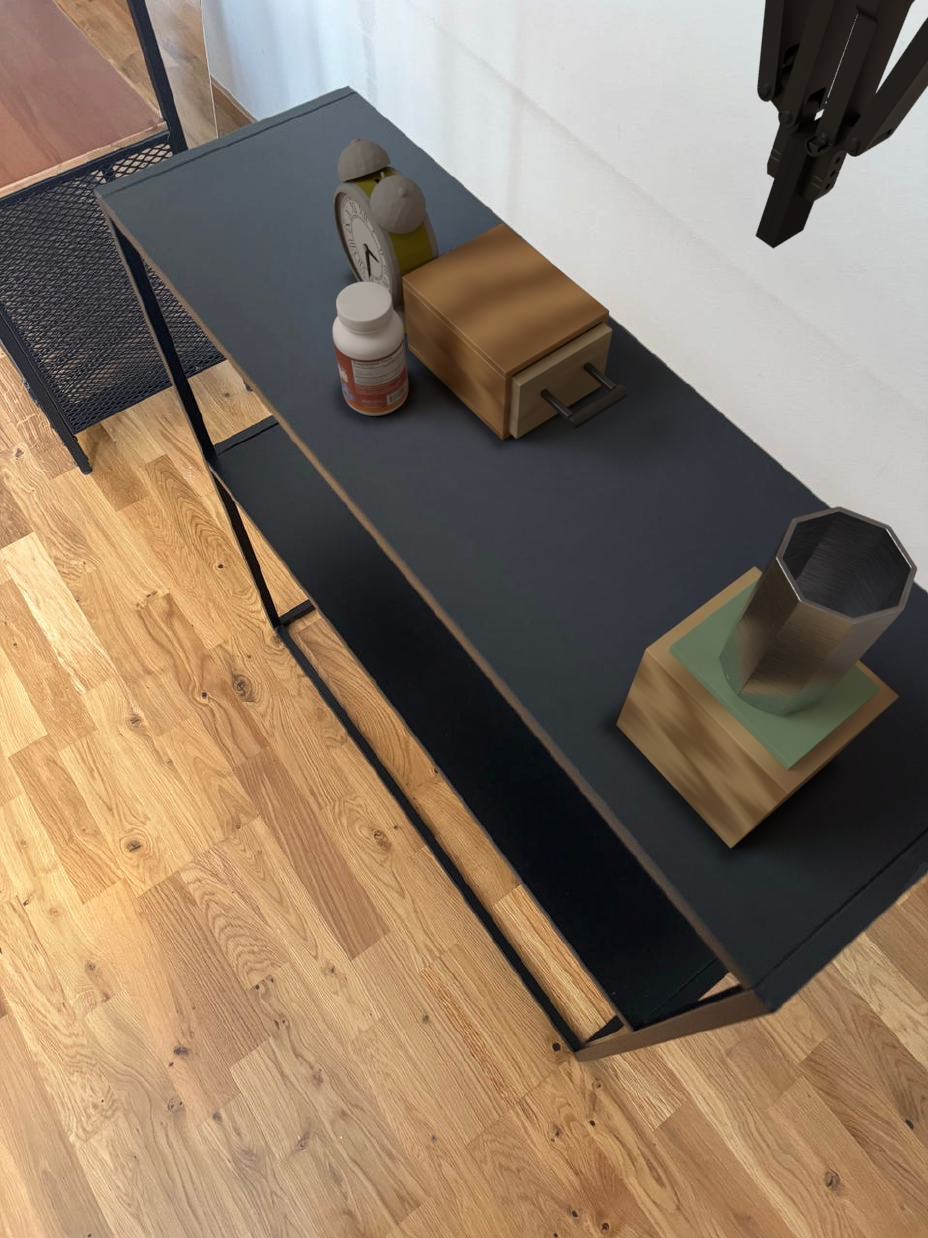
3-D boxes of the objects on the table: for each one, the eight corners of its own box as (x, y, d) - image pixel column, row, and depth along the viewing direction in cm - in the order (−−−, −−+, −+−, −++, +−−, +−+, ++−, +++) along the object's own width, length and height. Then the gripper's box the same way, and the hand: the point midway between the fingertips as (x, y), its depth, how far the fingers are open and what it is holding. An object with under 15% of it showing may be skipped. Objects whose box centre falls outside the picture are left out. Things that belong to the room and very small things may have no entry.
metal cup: (839, 646, 55) (927, 540, 44) (808, 732, 52) (893, 640, 42) (741, 604, 56) (804, 491, 46) (706, 686, 54) (763, 586, 43)
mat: (876, 693, 54) (881, 688, 54) (787, 771, 52) (791, 766, 51) (755, 583, 58) (759, 577, 57) (668, 651, 56) (670, 645, 55)
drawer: (638, 416, 81) (651, 361, 75) (551, 472, 78) (558, 420, 72) (510, 304, 87) (513, 246, 82) (426, 352, 84) (423, 295, 79)
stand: (825, 765, 66) (899, 696, 54) (730, 849, 63) (788, 794, 51) (708, 651, 70) (755, 565, 59) (615, 724, 67) (645, 648, 56)
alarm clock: (341, 277, 91) (319, 137, 78) (398, 252, 92) (386, 111, 79) (399, 346, 86) (385, 211, 73) (458, 319, 88) (455, 182, 75)
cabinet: (597, 381, 84) (609, 310, 76) (502, 440, 80) (505, 372, 73) (500, 296, 89) (502, 222, 82) (407, 348, 86) (401, 276, 78)
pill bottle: (346, 368, 85) (329, 274, 75) (410, 368, 85) (402, 274, 75) (341, 418, 82) (323, 326, 72) (407, 418, 82) (399, 326, 72)
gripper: (1181, -271, 32) (903, 263, 53) (896, -367, 37) (744, 156, 58) (1059, -215, 30) (819, 319, 51) (774, -325, 35) (661, 203, 56)
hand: (779, 232), depth 54 cm, fingers closed
